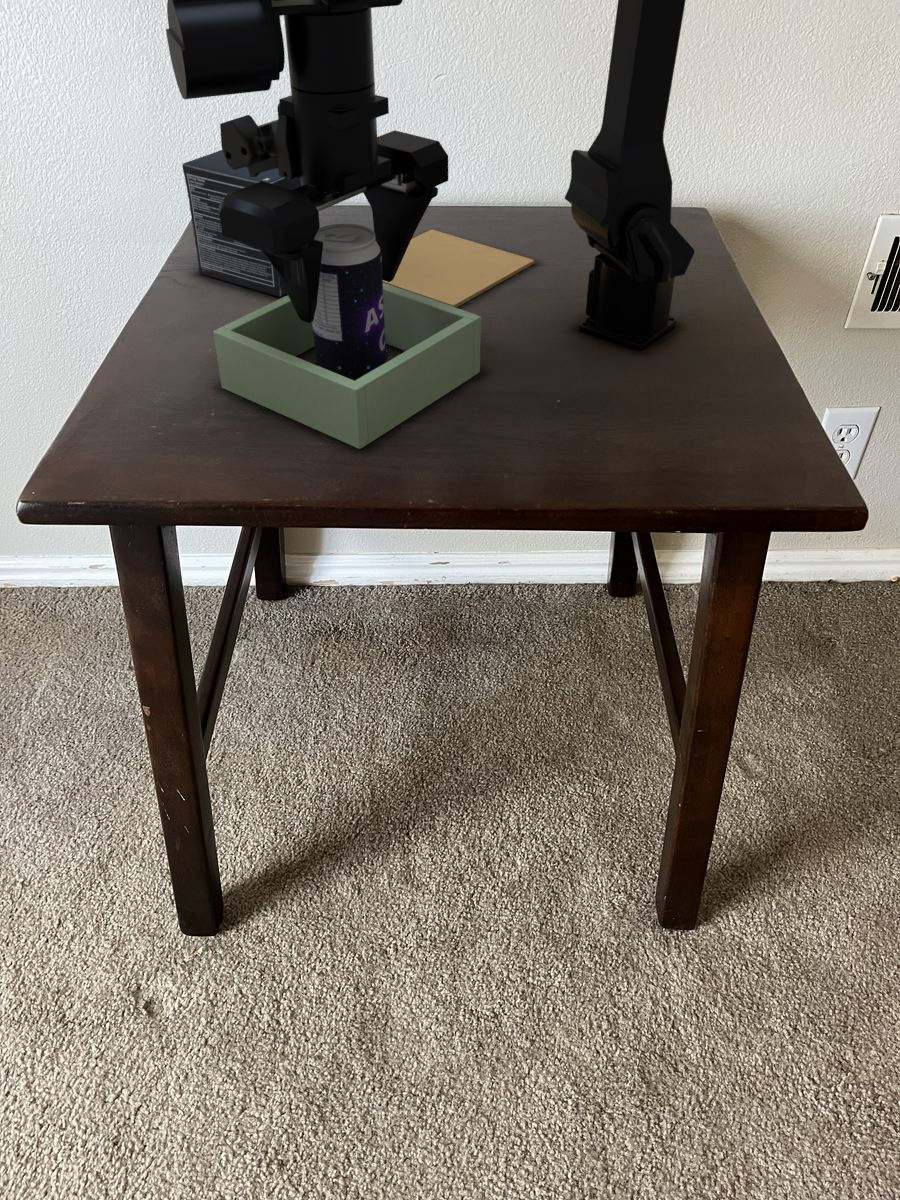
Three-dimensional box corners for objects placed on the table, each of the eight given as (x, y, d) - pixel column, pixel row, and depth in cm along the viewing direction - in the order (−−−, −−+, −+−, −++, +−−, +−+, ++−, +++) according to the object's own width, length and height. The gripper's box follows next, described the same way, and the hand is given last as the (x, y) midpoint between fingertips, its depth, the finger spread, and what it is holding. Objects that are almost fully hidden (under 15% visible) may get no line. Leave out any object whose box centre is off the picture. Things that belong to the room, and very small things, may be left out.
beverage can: (377, 400, 83) (369, 253, 75) (308, 393, 84) (294, 247, 76) (394, 366, 87) (388, 224, 79) (329, 360, 88) (317, 218, 80)
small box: (324, 275, 101) (315, 163, 94) (281, 299, 97) (268, 184, 90) (241, 251, 105) (226, 143, 98) (196, 274, 101) (178, 163, 94)
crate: (480, 372, 86) (481, 315, 83) (359, 449, 77) (355, 389, 74) (346, 322, 93) (342, 268, 90) (221, 388, 84) (212, 331, 81)
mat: (534, 263, 103) (534, 259, 103) (453, 309, 95) (453, 305, 95) (431, 232, 109) (431, 229, 109) (348, 273, 101) (348, 269, 101)
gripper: (338, 38, 80) (351, 238, 90) (146, 93, 69) (186, 314, 79) (452, 61, 75) (452, 270, 85) (265, 124, 64) (291, 356, 74)
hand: (347, 299), depth 81 cm, fingers open, 9 cm apart
